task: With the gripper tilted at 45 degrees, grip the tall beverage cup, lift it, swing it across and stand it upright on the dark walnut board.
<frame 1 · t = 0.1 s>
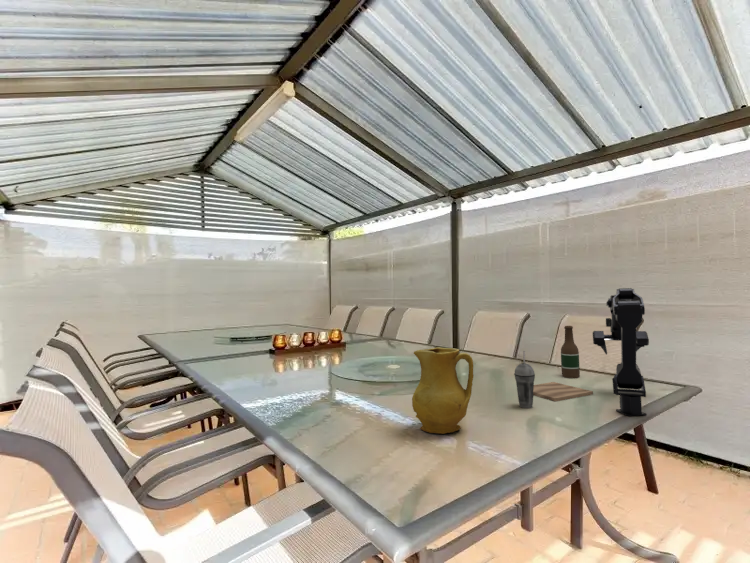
hand: (619, 354, 168), 15 cm above the table, tool tilted 35°, fingers open, 9 cm apart
pitcher: (442, 429, 131), on the table
beer bottle: (570, 377, 197), on the table
beverage cup: (525, 406, 152), on the table
walnut board: (554, 392, 170), on the table
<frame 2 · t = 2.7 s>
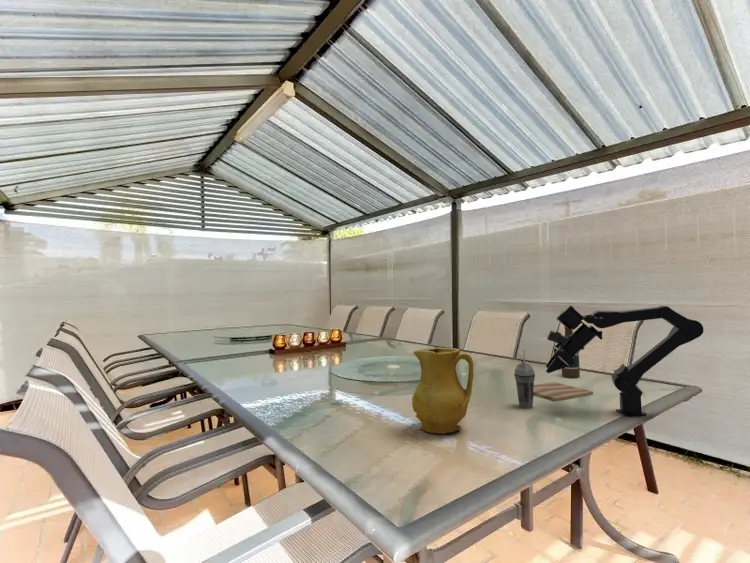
hand: (546, 369, 150), 14 cm above the table, tool tilted 45°, fingers open, 9 cm apart
nothing on the table moved.
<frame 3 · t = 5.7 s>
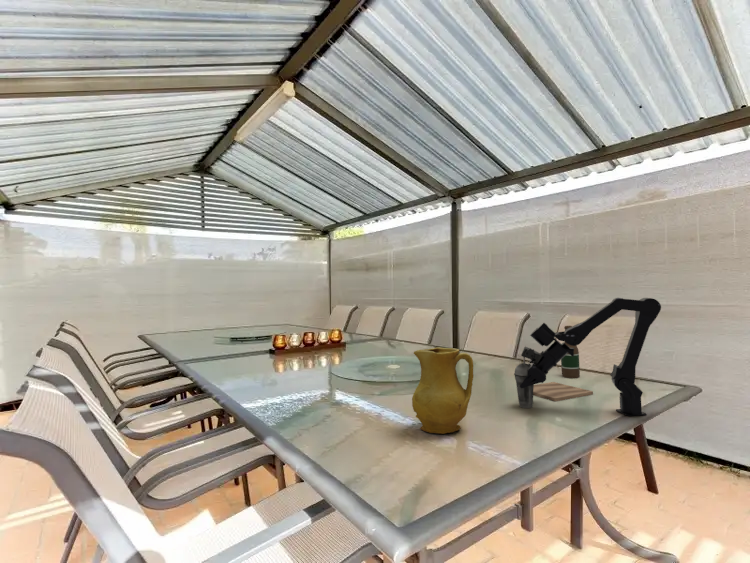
hand: (520, 385, 153), 8 cm above the table, tool tilted 45°, fingers closed on beverage cup, 7 cm apart
beverage cup: (525, 406, 152), on the table, touching gripper
everything else where it was.
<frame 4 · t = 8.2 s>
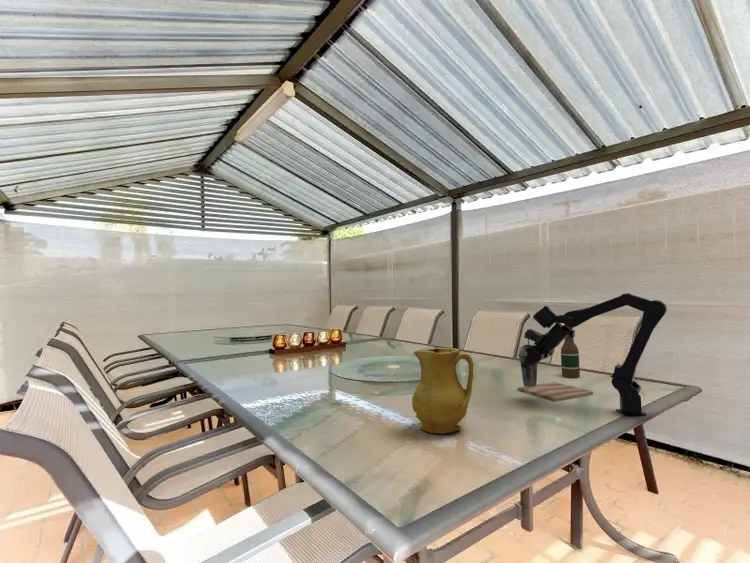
hand: (525, 365, 161), 13 cm above the table, tool tilted 45°, fingers closed on beverage cup, 7 cm apart
beverage cup: (529, 386, 160), point 5 cm above the table, touching gripper
everything else where it was.
when the fingers open (10 cm above the table, at t = 11.0 s): beverage cup stays where it is, resting on walnut board.
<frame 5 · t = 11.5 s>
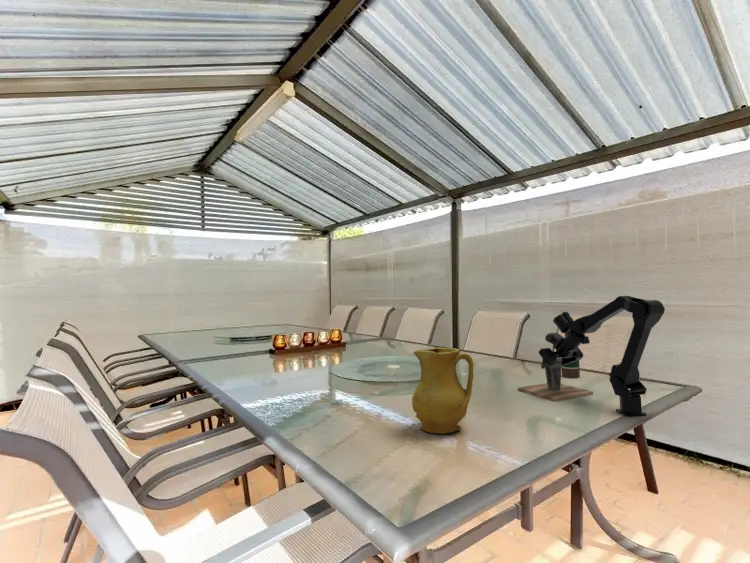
hand: (550, 366, 171), 10 cm above the table, tool tilted 45°, fingers open, 9 cm apart
beverage cup: (554, 389, 170), point 1 cm above the table, touching walnut board
everything else where it was.
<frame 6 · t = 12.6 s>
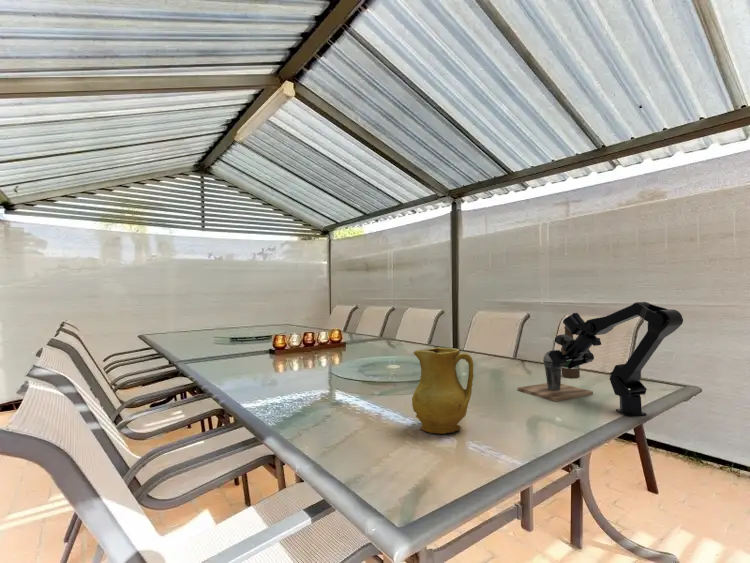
hand: (560, 369, 167), 10 cm above the table, tool tilted 45°, fingers open, 9 cm apart
nothing on the table moved.
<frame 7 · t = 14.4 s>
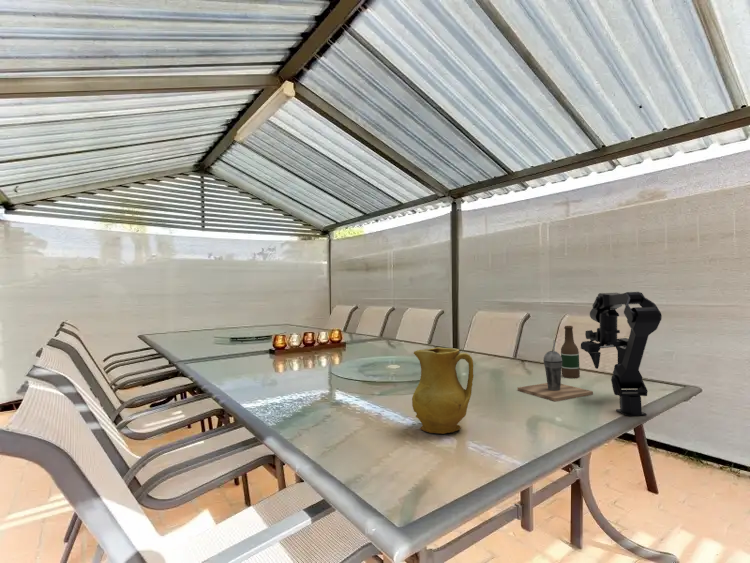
hand: (608, 367, 156), 12 cm above the table, tool pointing down, fingers open, 9 cm apart
nothing on the table moved.
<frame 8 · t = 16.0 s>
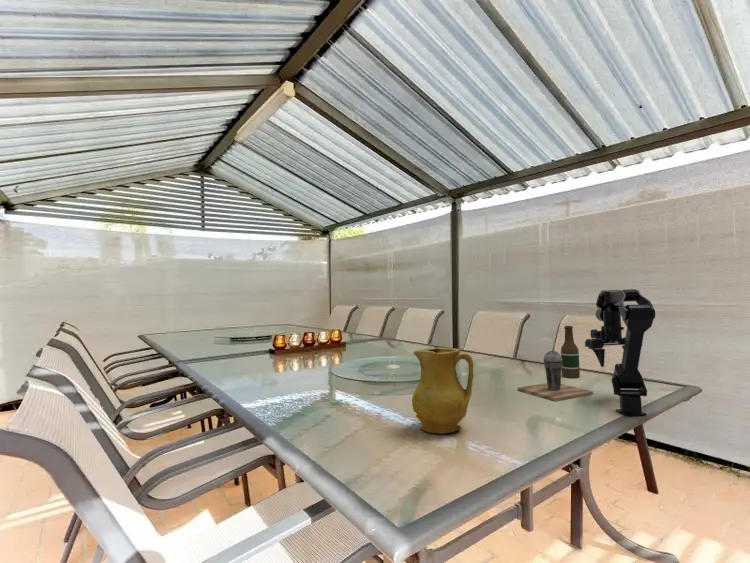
hand: (614, 366, 154), 13 cm above the table, tool pointing down, fingers open, 9 cm apart
nothing on the table moved.
at the end: beverage cup inside the target area on the walnut board (0.1 cm from its centre), point 1.0 cm above the walnut board's base; beverage cup tilted 0°; the gripper is holding nothing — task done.
